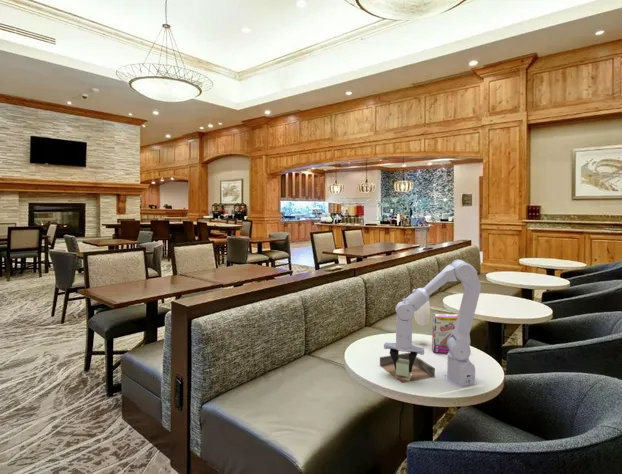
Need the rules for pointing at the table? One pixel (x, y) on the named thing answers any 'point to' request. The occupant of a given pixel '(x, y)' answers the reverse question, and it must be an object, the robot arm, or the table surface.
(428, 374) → the tray
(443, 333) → the candy bar box
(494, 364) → the table surface
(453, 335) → the robot arm
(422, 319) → the cup
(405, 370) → the sage cube
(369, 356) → the table surface
